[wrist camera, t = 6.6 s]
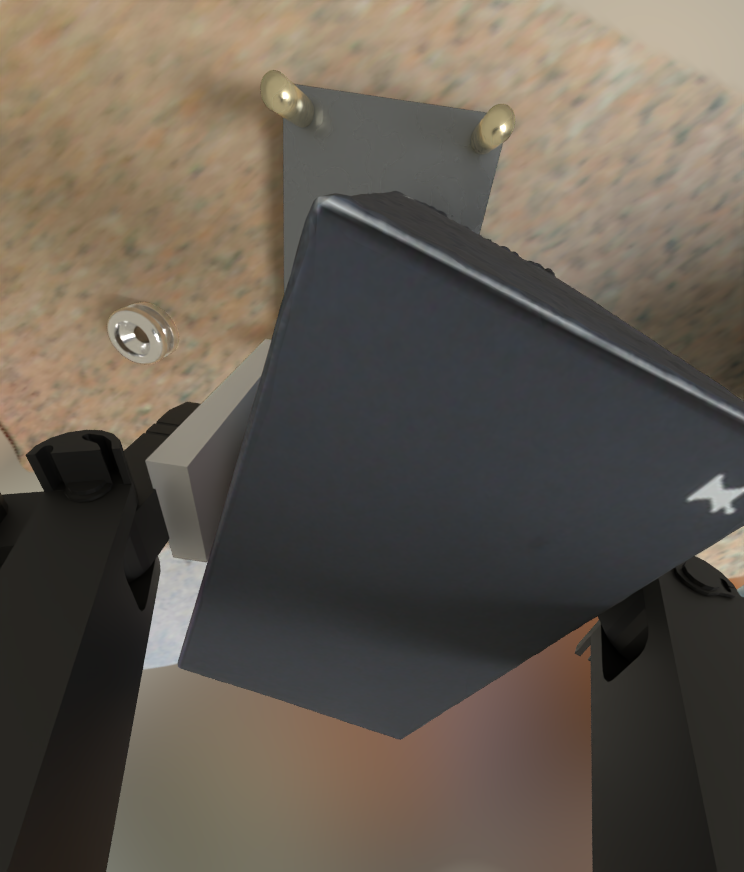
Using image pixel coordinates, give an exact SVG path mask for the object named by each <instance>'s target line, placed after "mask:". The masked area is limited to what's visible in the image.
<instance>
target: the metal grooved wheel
mask: <svg viewBox="0 0 744 872" xmlns="http://www.w3.org/2000/svg"><path fill="white" fill-rule="evenodd" d="M107 333H108V336H109V339H110V341H111V343H112V345H113V346H114V347H115V349H116V350H117V351H118V352H119V353H120V354H121V355H122V356H124V357H125V358H127V359H128V360H130V361H132V362H135V363H138V364H143V365H149V364H154V363H156V362H158V361H160V360H161V359H162V358H164V357H166V356H168V355H169V354H171V353H172V352H174V351H175V350H176V348H177V346H178V343H179V333H178V330H177V327H176V325H175V323H174V321H173V320H172V318H171V317H170V316H169V315H168V314H167V313H166V312H165V311H164V310H163V309H161V308H160V307H158V306H157V305H154V304H152V303H148V302H137V303H134V304H132V305H129V306H127V307H124V308H121V309H118V310H116V311H115V312H113V313H112V314H111V315H110V317H109V319H108V322H107Z"/></svg>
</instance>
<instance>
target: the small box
mask: <svg viewBox="0 0 744 872" xmlns="http://www.w3.org/2000/svg"><path fill="white" fill-rule="evenodd" d="M742 526H744V401H742V400H741V399H739V398H738V397H736V396H735V395H733V394H732V393H731V392H729V391H728V390H727V389H726V388H725V387H723V386H722V385H720V384H719V383H717V382H716V381H714V380H712V379H711V378H709V377H708V376H706V375H705V374H703V373H701V372H700V371H698V370H697V369H695V368H694V367H692V366H691V365H689V364H688V363H686V362H685V361H684V360H682V359H681V358H679V357H677V356H675V355H674V354H672V353H671V352H669V351H668V350H666V349H664V348H663V347H662V346H660V345H659V344H658V343H656V342H655V341H653V340H652V339H650V338H649V337H647V336H646V335H644V334H643V333H641V332H640V331H638V330H636V329H635V328H633V327H631V326H630V325H629V324H627V323H626V322H624V321H622V320H621V319H619V318H618V317H617V316H615V315H613V314H612V313H610V312H609V311H607V310H606V309H604V308H603V307H602V306H600V305H599V304H597V303H595V302H594V301H593V300H591V299H589V298H588V297H586V296H584V295H583V294H581V293H580V292H578V291H576V290H575V289H574V288H571V287H570V286H569V285H567V284H565V283H564V282H562V281H560V280H559V279H557V278H556V277H555V275H554V273H553V272H552V270H551V269H549V268H547V269H544V268H543V267H542V266H541V265H540V264H538V263H535V262H532V261H526V260H524V259H522V258H521V257H519V255H518V254H517V253H516V252H511V251H510V250H509V249H508V248H507V247H505V246H499V245H497V244H496V243H493V242H492V241H491V240H489V239H485V238H483V237H482V236H481V235H479V234H477V233H475V232H473V231H472V230H471V229H470V228H469V227H466V226H463V225H461V224H459V223H457V222H455V221H454V220H451V219H449V218H448V217H447V214H446V213H444V212H443V211H440V210H437V209H436V208H435V207H433V206H429V205H428V204H426V203H423V202H420V201H418V200H416V199H413V198H411V197H408V196H406V195H404V194H403V193H401V192H398V191H392V192H386V193H372V194H359V195H354V196H348V195H343V194H337V193H334V194H330V195H325V196H320V197H317V198H316V199H315V200H314V201H313V204H312V206H311V208H310V211H309V213H308V215H307V218H306V220H305V223H304V227H303V230H302V234H301V237H300V240H299V244H298V247H297V251H296V255H295V259H294V263H293V267H292V271H291V275H290V278H289V281H288V284H287V288H286V291H285V294H284V297H283V300H282V303H281V307H280V310H279V314H278V318H277V322H276V325H275V329H274V333H273V336H272V340H271V343H270V347H269V350H268V354H267V357H266V361H265V364H264V368H263V371H262V375H261V378H260V382H259V385H258V389H257V392H256V396H255V399H254V403H253V406H252V410H251V413H250V417H249V420H248V424H247V427H246V431H245V434H244V438H243V441H242V445H241V448H240V452H239V455H238V459H237V462H236V466H235V469H234V473H233V476H232V480H231V483H230V487H229V490H228V494H227V497H226V501H225V504H224V508H223V511H222V515H221V518H220V522H219V525H218V529H217V532H216V535H215V539H214V542H213V546H212V549H211V553H210V556H209V559H208V563H207V566H206V569H205V573H204V576H203V580H202V583H201V586H200V590H199V593H198V597H197V600H196V603H195V607H194V610H193V613H192V617H191V620H190V623H189V627H188V630H187V633H186V637H185V640H184V643H183V646H182V650H181V653H180V657H179V660H178V667H179V668H181V669H184V670H187V671H190V672H193V673H197V674H200V675H202V676H205V677H209V678H212V679H215V680H218V681H221V682H225V683H228V684H232V685H234V686H237V687H241V688H244V689H248V690H251V691H254V692H257V693H260V694H263V695H267V696H270V697H273V698H276V699H279V700H282V701H285V702H288V703H291V704H294V705H297V706H299V707H302V708H306V709H309V710H312V711H315V712H317V713H320V714H323V715H327V716H330V717H333V718H337V719H339V720H342V721H344V722H347V723H350V724H354V725H357V726H360V727H363V728H366V729H368V730H372V731H375V732H379V733H381V734H384V735H388V736H391V737H393V738H396V739H400V740H401V739H403V738H404V737H406V736H407V735H409V734H411V733H412V732H414V731H415V730H417V729H418V728H420V727H422V726H423V725H425V724H426V723H428V722H429V721H431V720H432V719H434V718H436V717H437V716H439V715H440V714H442V713H443V712H444V711H446V710H448V709H449V708H451V707H453V706H454V705H456V704H458V703H460V702H461V701H463V700H464V699H466V698H467V697H469V696H471V695H472V694H474V693H475V692H477V691H479V690H480V689H482V688H484V687H485V686H487V685H488V684H490V683H491V682H493V681H494V680H496V679H498V678H500V677H501V676H503V675H505V674H506V673H507V672H509V671H510V670H512V669H514V668H516V667H517V666H519V665H520V664H522V663H523V662H525V661H526V660H527V659H529V658H531V657H532V656H534V655H536V654H538V653H540V652H541V651H543V650H544V649H546V648H547V647H548V646H550V645H552V644H553V643H555V642H557V641H558V640H560V639H561V638H563V637H564V636H565V635H567V634H569V633H570V632H572V631H574V630H576V629H578V628H579V627H581V626H582V625H583V624H585V623H587V622H588V621H590V620H592V619H593V618H595V617H597V616H599V615H601V614H602V613H604V612H606V611H607V610H608V609H610V608H611V607H613V606H614V605H616V604H618V603H620V602H622V601H623V600H624V599H626V598H627V597H629V596H630V595H631V594H633V593H634V592H636V591H638V590H639V589H641V588H643V587H644V586H646V585H648V584H649V583H651V582H652V581H654V580H656V579H657V578H659V577H660V576H662V575H664V574H665V573H667V572H668V571H670V570H672V569H673V568H675V567H676V566H678V565H680V564H681V563H683V562H685V561H687V560H688V559H690V558H692V557H693V556H695V555H697V554H698V553H700V552H702V551H703V550H705V549H707V548H708V547H710V546H712V545H713V544H715V543H716V542H718V541H720V540H721V539H723V538H724V537H726V536H727V535H729V534H730V533H732V532H734V531H736V530H737V529H739V528H741V527H742Z"/></svg>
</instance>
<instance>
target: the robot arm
mask: <svg viewBox="0 0 744 872" xmlns="http://www.w3.org/2000/svg"><path fill="white" fill-rule="evenodd" d="M270 343H271V340H270V339H265V340H264V341H263V342H262V343H261V344H260V345H259V346H258V347H257V348H256V349H255V350H254V351H253V352H252V353H251V354H250V355H249V356H248V357H247V358H246V359H245V360H244V361H243V362H242V363H241V364H240V365H239V366H238V367H237V368H236V369H235V370H234V371H233V372H232V373H231V374H230V375H229V376H228V377H227V378H226V379H225V380H224V381H223V382H222V383H221V384H220V385H219V386H218V387H217V388H216V389H215V390H214V391H213V392H212V393H211V394H210V395H209V396H208V397H207V398H206V400H205V401H204V402H203V403H202V404H198V403H192V402H186V403H184V404H181V405H179V406H177V407H175V408H173V409H171V410H169V411H168V412H166V413H165V414H164V415H163V416H162V417H161V418H160V419H159V420H158V421H157V423H156V424H153V425H152V426H151V427H150V428H149V429H148V430H147V431H146V433H143V434H142V435H141V436H140V437H139V438H138V439H137V440H136V441H134V442H133V443H132V444H131V445H130V446H129V447H128V448H127V449H126V450H124V451H123V448H122V445H121V442H120V440H119V439H118V438H117V437H116V436H115V435H114V434H112V433H109V432H105V431H102V430H82V431H75V432H68V433H65V434H62V435H59V436H55V437H52V438H50V439H48V440H46V441H44V442H42V443H40V444H38V445H36V446H35V447H34V448H33V449H32V450H31V451H29V452H28V453H27V454H26V457H27V459H28V461H29V463H30V465H31V466H32V468H33V470H34V472H35V474H36V476H37V478H38V480H39V482H40V484H41V486H42V488H43V489H44V492H32V493H18V494H5V495H1V493H0V872H106V869H107V863H108V858H109V852H110V847H111V841H112V835H113V830H114V825H115V819H116V813H117V808H118V803H119V797H120V791H121V786H122V781H123V775H124V770H125V764H126V758H127V753H128V747H129V741H130V736H131V731H132V725H133V720H134V714H135V709H136V703H137V698H138V692H139V687H140V681H141V676H142V670H143V665H144V659H145V654H146V648H147V643H148V637H149V632H150V626H151V621H152V615H153V609H154V604H155V598H156V593H157V587H158V582H159V576H160V561H159V558H158V555H159V553H160V552H161V550H162V549H163V547H164V546H165V545H166V543H167V542H168V541H169V544H170V548H171V551H172V555H173V557H175V558H182V559H188V560H195V561H201V562H208V559H209V556H210V553H211V549H212V546H213V542H214V539H215V535H216V532H217V529H218V525H219V522H220V518H221V515H222V511H223V508H224V504H225V501H226V497H227V494H228V490H229V487H230V483H231V480H232V476H233V473H234V469H235V466H236V462H237V459H238V455H239V452H240V448H241V445H242V441H243V438H244V434H245V431H246V427H247V424H248V420H249V417H250V413H251V410H252V406H253V403H254V399H255V396H256V392H257V389H258V385H259V382H260V378H261V375H262V371H263V368H264V364H265V361H266V357H267V354H268V350H269V347H270ZM598 618H599V621H598V622H597V623H596V624H595V625H594V626H593V628H592V629H591V630H590V631H589V632H588V633H587V635H586V636H585V637H584V638H583V639H582V640H581V641H580V642H579V644H578V645H577V647H576V651H575V654H577V655H579V656H581V655H582V654H583V652H584V651H585V650H586V649H587V648H588V647H589V646H590V645H591V656H590V657H589V659H588V660H589V661H591V732H592V733H591V741H592V742H591V743H592V744H591V745H592V848H593V851H592V854H593V872H744V585H743V586H742V587H740V588H739V589H736V588H735V586H734V585H733V584H732V583H731V582H730V581H729V580H728V579H727V578H726V577H725V576H724V575H723V574H722V573H721V572H720V571H719V570H717V569H716V568H714V567H713V566H711V565H710V564H709V563H707V562H706V561H704V560H702V559H700V558H698V557H696V556H693V557H692V558H690V559H688V560H687V561H685V562H683V563H681V564H680V565H678V566H676V567H675V568H673V569H672V570H670V571H668V572H667V573H665V574H664V575H662V576H660V577H659V578H657V579H656V580H654V581H652V582H651V583H649V584H648V585H646V586H644V587H643V588H641V589H639V590H638V591H636V592H634V593H633V594H631V595H630V596H629V597H627V598H626V599H624V600H623V601H622V602H620V603H618V604H616V605H614V606H613V607H611V608H610V609H608V610H607V611H606V612H604V613H602V614H601V615H599V616H598Z"/></svg>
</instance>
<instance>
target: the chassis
mask: <svg viewBox="0 0 744 872" xmlns="http://www.w3.org/2000/svg"><path fill="white" fill-rule="evenodd" d="M260 90H261V96H262V99H263V101H264V103H265V105H266V106H267V107H268V108H269V109H270V110H272V111H273V112H275V113H277V114H278V115H280V116H282V117H283V180H284V294H285V291H286V288H287V284H288V281H289V278H290V275H291V271H292V267H293V263H294V259H295V255H296V251H297V247H298V244H299V240H300V237H301V234H302V230H303V227H304V223H305V220H306V218H307V215H308V213H309V211H310V208H311V206H312V204H313V201H314V200H315V199H316V198H317V197H320V196H325V195H330V194H334V193H337V194H343V195H348V196H354V195H359V194H372V193H386V192H392V191H398V192H401V193H403V194H404V195H406V196H408V197H411V198H413V199H416V200H418V201H420V202H423V203H426V204H428V205H429V206H433V207H435V208H436V209H437V210H440V211H443V212H444V213H446V214H447V217H448V218H449V219H451V220H454V221H455V222H457V223H459V224H461V225H463V226H466V227H469V228H470V229H471V230H472V231H473V232H475V233H477V234H480V230H481V226H482V222H483V218H484V215H485V211H486V207H487V203H488V199H489V195H490V191H491V187H492V183H493V179H494V176H495V172H496V168H497V164H498V160H499V156H500V152H501V148H502V144H503V142H505V141H506V140H507V139H508V138H509V137H510V135H511V134H512V132H513V129H514V125H515V116H514V112H513V110H512V109H511V108H510V107H509V106H508V105H506V104H498V105H495V106H494V107H492V108H491V109H490V110H489V111H488V112H487V113H485V112H478V111H472V110H465V109H458V108H451V107H445V106H438V105H431V104H425V103H418V102H411V101H404V100H398V99H391V98H384V97H377V96H371V95H364V94H357V93H350V92H344V91H337V90H330V89H324V88H317V87H310V86H303V85H297V84H293V83H292V82H291V81H290V80H289V79H288V78H287V77H285V76H284V75H283V74H282V73H281V72H279V71H276V70H271V71H269V72H267V73H266V74H265V75H264V76H263V78H262V81H261V86H260Z"/></svg>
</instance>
